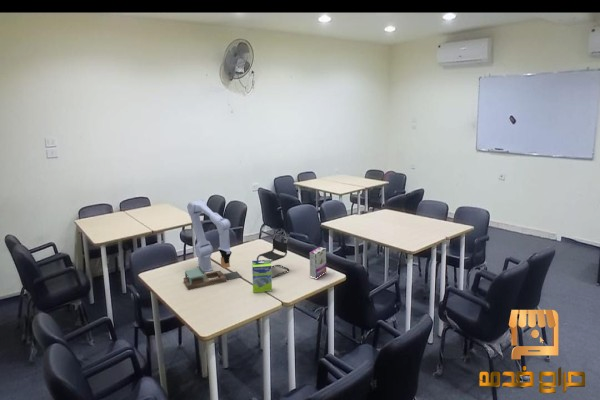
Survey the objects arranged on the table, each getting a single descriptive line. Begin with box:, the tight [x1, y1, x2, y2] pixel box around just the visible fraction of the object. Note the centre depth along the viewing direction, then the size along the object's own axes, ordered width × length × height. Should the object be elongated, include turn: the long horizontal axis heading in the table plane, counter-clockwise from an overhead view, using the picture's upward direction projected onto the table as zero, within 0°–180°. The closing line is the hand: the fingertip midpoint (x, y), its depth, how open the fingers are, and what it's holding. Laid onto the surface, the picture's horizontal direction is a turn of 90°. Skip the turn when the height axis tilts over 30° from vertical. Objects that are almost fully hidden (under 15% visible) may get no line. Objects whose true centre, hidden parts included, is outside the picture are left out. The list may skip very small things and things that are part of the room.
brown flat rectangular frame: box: [183, 270, 227, 291], centre depth 228 cm, size 12×22×2 cm, turn 118°
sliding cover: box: [184, 264, 206, 285], centre depth 225 cm, size 12×9×6 cm
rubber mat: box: [223, 270, 242, 281], centre depth 236 cm, size 9×9×1 cm
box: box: [251, 259, 273, 293], centre depth 215 cm, size 10×4×17 cm, turn 100°
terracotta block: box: [220, 256, 231, 269], centre depth 232 cm, size 4×4×6 cm
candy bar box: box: [309, 246, 327, 278], centre depth 234 cm, size 11×5×16 cm, turn 143°
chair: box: [256, 232, 291, 278], centre depth 239 cm, size 13×17×22 cm
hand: (225, 261), depth 232 cm, fingers closed on terracotta block, 4 cm apart
